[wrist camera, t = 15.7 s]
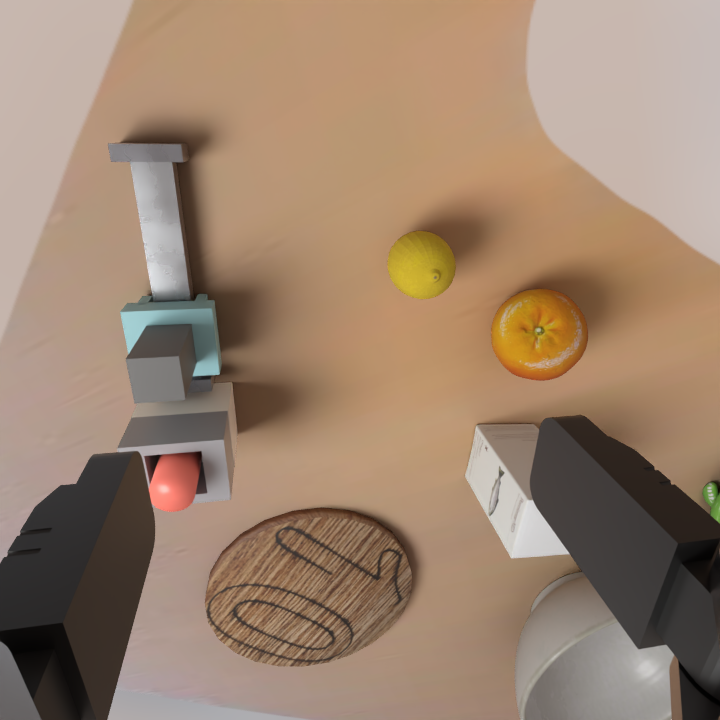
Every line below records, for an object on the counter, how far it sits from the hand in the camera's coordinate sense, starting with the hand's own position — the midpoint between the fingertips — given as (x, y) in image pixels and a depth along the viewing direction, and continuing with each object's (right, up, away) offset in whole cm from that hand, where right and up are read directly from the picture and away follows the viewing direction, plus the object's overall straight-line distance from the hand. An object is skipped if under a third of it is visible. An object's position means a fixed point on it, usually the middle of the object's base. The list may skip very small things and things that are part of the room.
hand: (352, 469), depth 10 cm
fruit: (+16, +6, +41) cm, 44 cm away
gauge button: (-15, -5, +33) cm, 37 cm away
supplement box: (+16, -8, +48) cm, 51 cm away
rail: (-16, +10, +33) cm, 38 cm away
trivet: (-6, -26, +52) cm, 58 cm away
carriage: (-16, +5, +34) cm, 38 cm away
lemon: (+5, +12, +36) cm, 38 cm away
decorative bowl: (+31, -33, +62) cm, 76 cm away
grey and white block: (-16, -3, +39) cm, 42 cm away
